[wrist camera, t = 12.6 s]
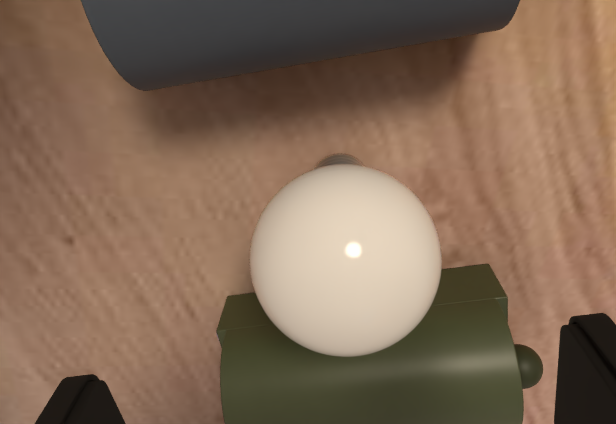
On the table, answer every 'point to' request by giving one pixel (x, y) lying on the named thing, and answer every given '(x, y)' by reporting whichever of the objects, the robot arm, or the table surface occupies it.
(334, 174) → the lightbulb
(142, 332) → the table surface
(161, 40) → the slate bag
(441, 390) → the olive bag
